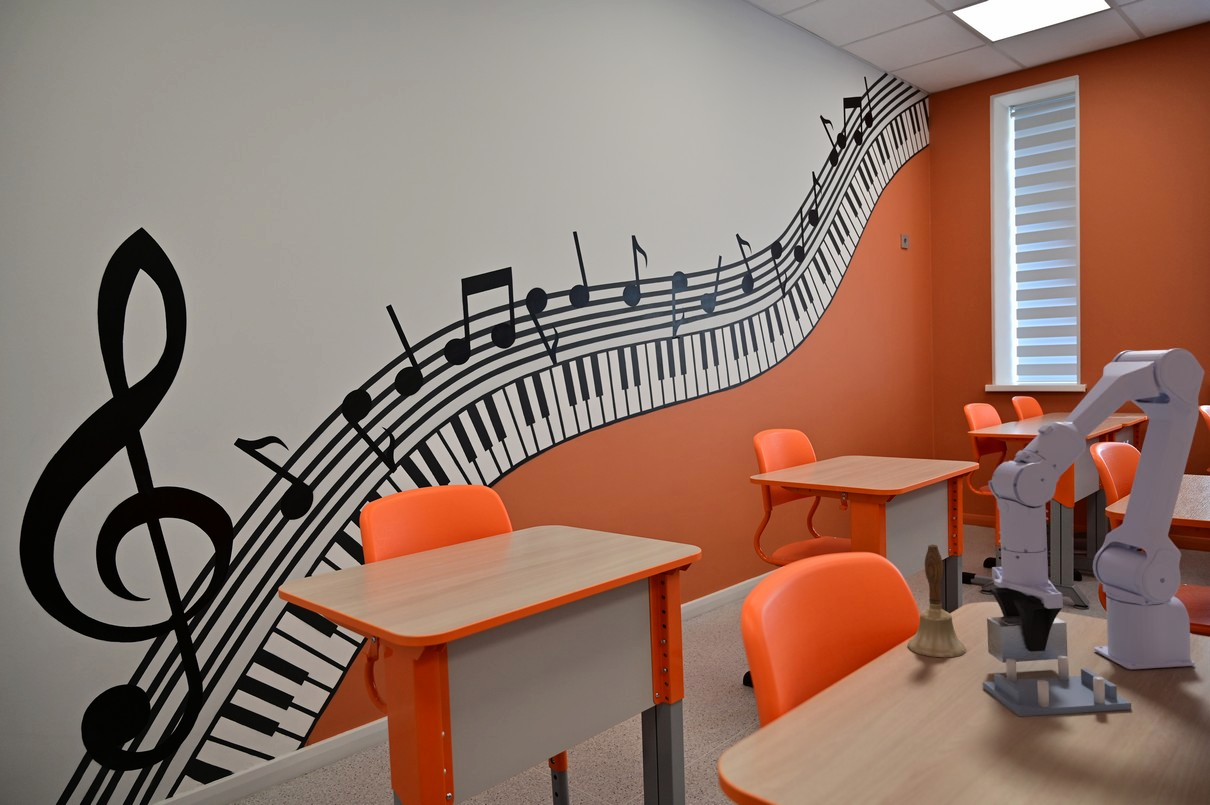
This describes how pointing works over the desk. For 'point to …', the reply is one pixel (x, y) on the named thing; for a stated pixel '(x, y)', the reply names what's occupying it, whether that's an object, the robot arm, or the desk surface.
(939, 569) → the hand bell
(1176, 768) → the desk surface
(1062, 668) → the grey peg stand
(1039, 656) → the block
